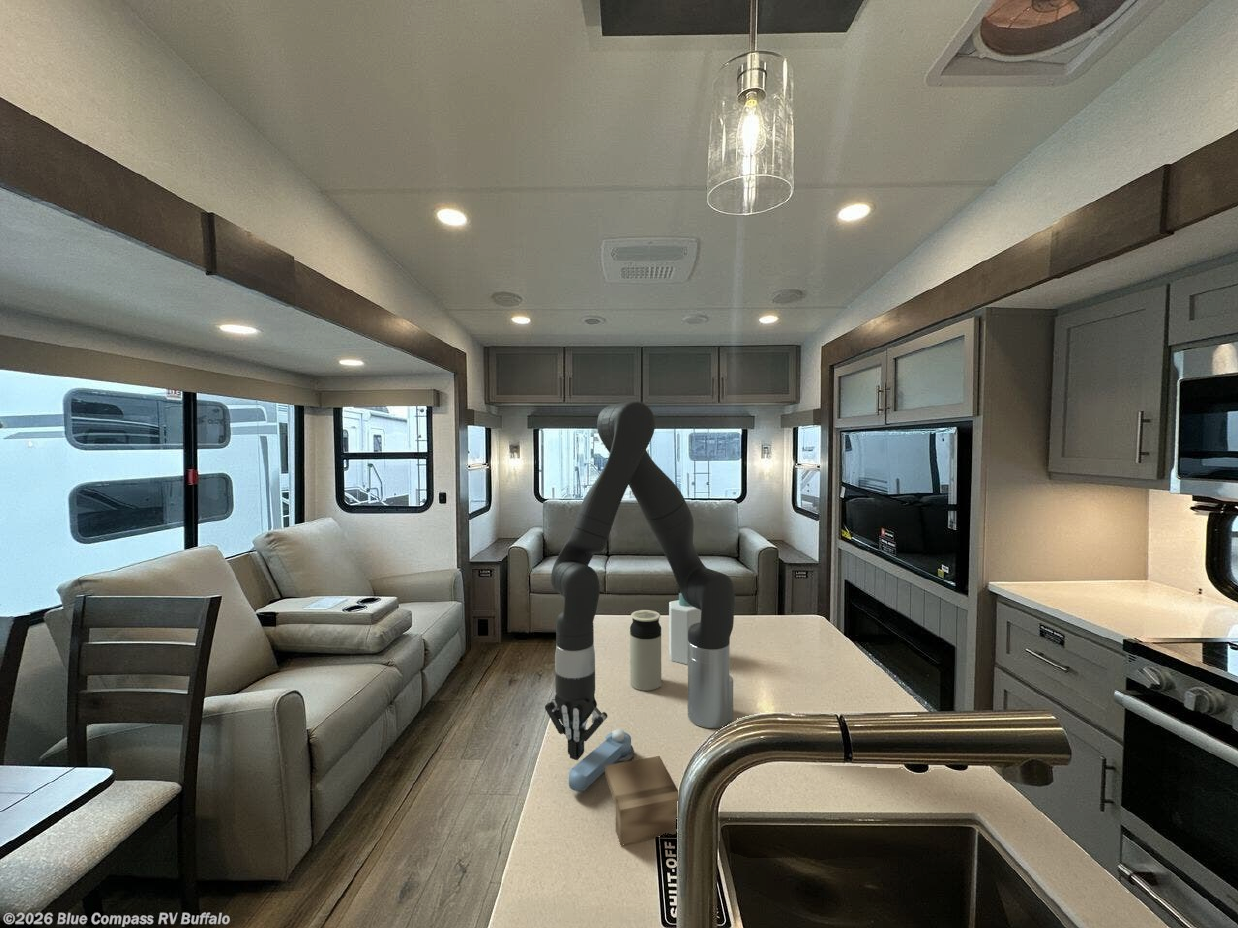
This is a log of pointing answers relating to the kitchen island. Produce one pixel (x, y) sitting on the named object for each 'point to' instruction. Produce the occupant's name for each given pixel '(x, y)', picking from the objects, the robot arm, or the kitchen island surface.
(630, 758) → the pivot boss
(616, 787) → the brown square block
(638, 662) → the travel mug
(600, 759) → the swing link
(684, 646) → the soap bottle
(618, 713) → the kitchen island surface
